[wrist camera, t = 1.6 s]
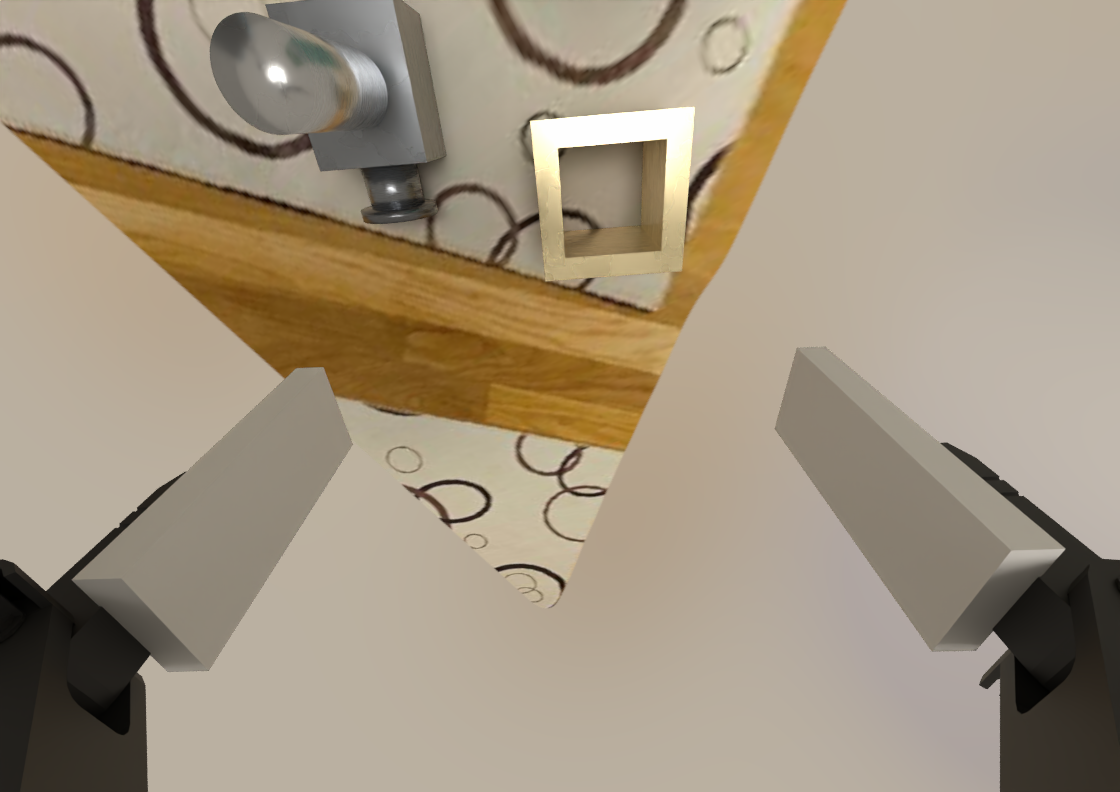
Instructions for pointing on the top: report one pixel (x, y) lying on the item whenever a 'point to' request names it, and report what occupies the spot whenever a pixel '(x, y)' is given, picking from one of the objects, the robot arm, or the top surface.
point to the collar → (662, 195)
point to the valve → (340, 91)
